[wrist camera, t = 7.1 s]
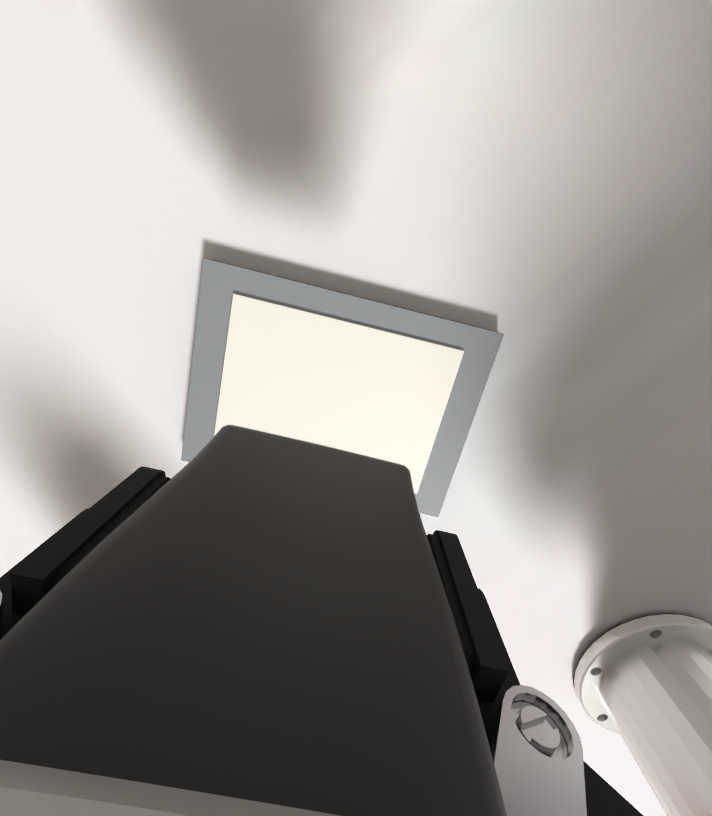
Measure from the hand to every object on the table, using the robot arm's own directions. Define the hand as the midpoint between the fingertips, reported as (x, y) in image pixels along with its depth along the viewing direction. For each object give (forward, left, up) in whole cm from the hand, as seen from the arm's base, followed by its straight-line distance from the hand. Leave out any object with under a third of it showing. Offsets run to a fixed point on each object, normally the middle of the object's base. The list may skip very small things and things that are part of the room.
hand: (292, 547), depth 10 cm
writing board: (0, 0, -15) cm, 15 cm away
